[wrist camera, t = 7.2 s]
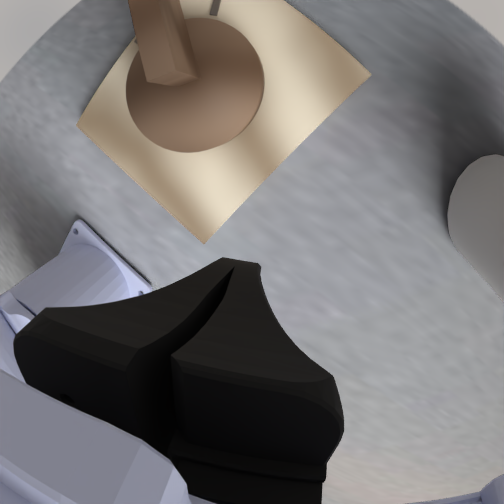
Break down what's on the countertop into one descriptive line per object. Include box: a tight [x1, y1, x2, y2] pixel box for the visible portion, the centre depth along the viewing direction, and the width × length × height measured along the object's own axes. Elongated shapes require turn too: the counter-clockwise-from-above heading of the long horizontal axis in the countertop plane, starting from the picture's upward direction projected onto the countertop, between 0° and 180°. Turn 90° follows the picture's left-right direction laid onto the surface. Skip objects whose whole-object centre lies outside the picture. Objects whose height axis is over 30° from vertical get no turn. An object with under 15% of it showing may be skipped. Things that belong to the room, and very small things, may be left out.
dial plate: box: [76, 0, 372, 244], centre depth 17 cm, size 14×12×1 cm
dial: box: [126, 0, 265, 153], centre depth 13 cm, size 11×8×5 cm
